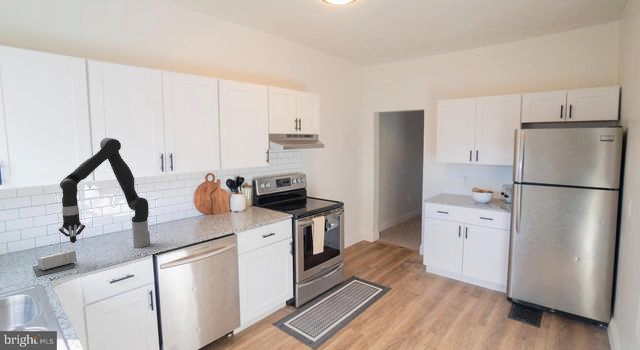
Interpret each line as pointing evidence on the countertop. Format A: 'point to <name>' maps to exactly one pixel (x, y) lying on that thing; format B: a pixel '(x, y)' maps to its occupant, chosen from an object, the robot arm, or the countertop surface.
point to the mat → (52, 269)
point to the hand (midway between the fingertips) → (73, 242)
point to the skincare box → (57, 260)
